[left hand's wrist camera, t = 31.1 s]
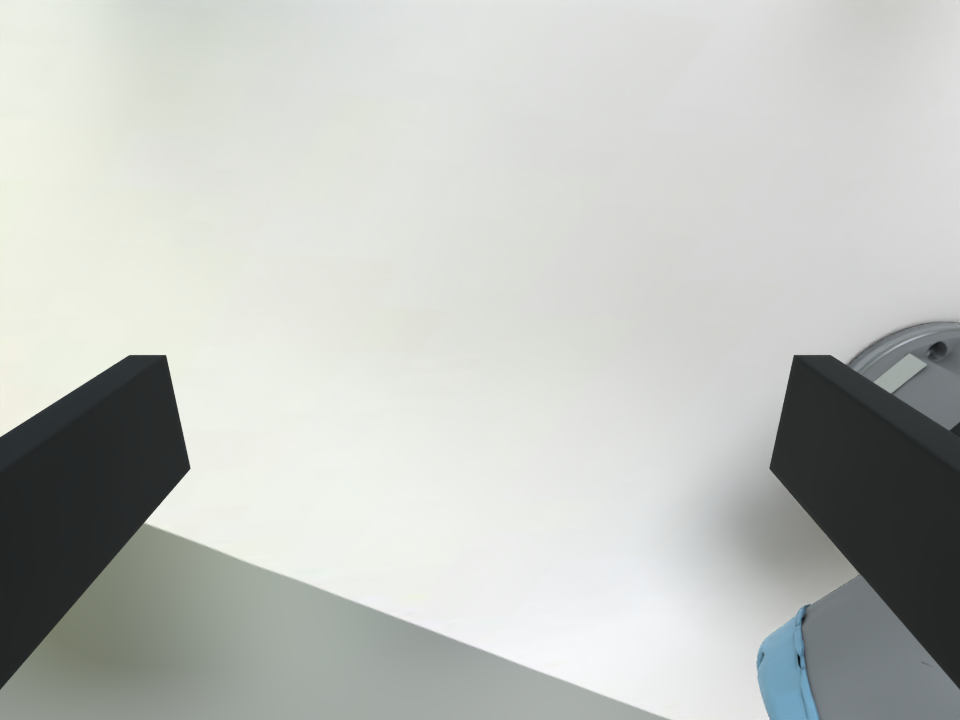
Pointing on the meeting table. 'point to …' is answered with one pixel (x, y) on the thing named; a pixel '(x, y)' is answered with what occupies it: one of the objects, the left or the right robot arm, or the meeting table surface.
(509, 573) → the meeting table surface
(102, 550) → the left robot arm
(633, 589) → the meeting table surface
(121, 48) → the meeting table surface
